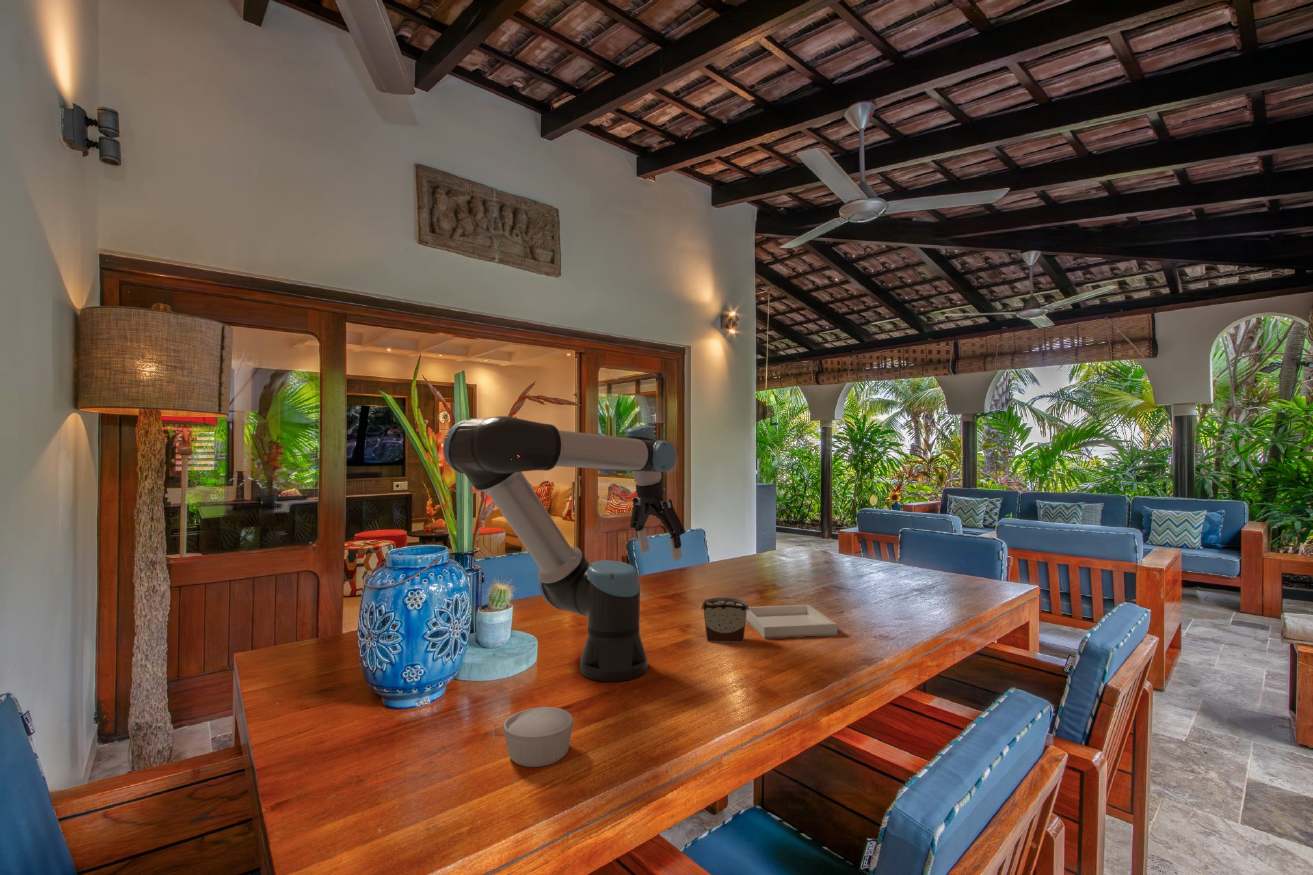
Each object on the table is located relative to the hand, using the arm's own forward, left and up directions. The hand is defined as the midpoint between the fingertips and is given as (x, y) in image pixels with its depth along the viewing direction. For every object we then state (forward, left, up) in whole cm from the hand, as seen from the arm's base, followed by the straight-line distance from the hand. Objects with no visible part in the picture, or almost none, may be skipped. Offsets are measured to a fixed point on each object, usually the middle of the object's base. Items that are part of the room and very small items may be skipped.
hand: (661, 555), depth 164 cm
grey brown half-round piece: (-12, -15, -20) cm, 28 cm away
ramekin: (-65, +29, -20) cm, 74 cm away
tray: (-4, -35, -20) cm, 41 cm away
